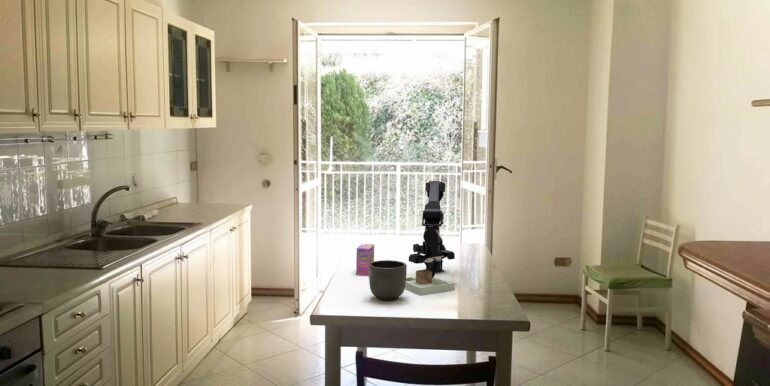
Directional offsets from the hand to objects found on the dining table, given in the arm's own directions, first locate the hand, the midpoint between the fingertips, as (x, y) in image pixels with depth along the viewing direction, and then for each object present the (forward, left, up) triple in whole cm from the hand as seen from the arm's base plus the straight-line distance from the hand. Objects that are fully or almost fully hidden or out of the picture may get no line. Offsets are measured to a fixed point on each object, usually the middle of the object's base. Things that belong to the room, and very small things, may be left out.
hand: (431, 277), depth 245 cm
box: (+13, -32, -4) cm, 35 cm away
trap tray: (+3, -3, -3) cm, 5 cm away
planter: (+25, +8, -3) cm, 26 cm away
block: (+4, 0, -1) cm, 4 cm away
